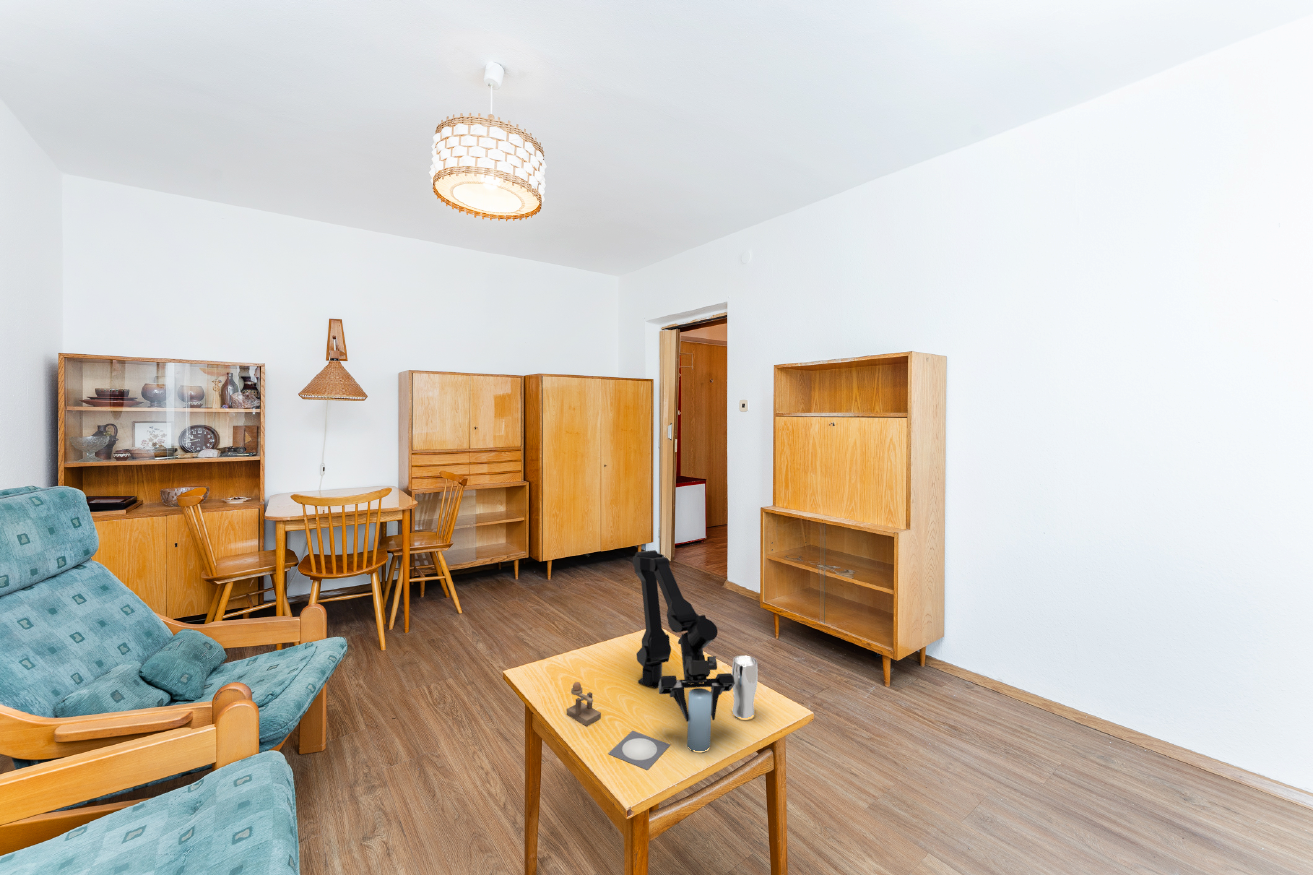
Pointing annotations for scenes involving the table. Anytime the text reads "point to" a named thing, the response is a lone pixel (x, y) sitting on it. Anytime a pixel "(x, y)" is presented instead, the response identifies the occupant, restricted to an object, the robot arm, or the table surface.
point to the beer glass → (744, 685)
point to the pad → (639, 749)
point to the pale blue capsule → (699, 719)
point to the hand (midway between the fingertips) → (700, 720)
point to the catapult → (583, 707)
